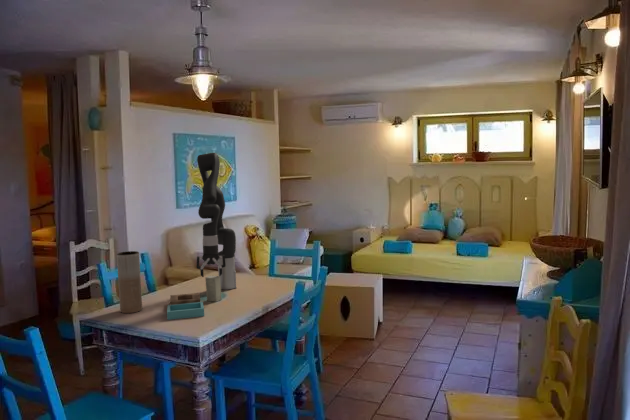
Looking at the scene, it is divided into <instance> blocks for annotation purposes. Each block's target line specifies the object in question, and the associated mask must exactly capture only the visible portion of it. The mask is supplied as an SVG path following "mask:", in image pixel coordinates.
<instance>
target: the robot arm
mask: <svg viewBox="0 0 630 420" xmlns="http://www.w3.org/2000/svg"><path fill="white" fill-rule="evenodd" d="M196 160H197V166H198V171H199V173H200V176H201V179H202V183H203V186H202V194H201V197H202V198H201V202H200V204H199V208H198V216H199V217H200V218H201V219H203V220H204V219H208V220H209V219H210V220H211V221H210V222H206V223H204V224H203V225H202V255H201V256H199V255H197V256H196V269H198V270H199V271H200V277H202V278H204V268H205V266H207V265H208V266H210V265H215V264H216V265H217V272H218V274H217V276H220V286H221V290H233V289H237V275H236V274H237V273H236V272H237V271H236V264H235V263H236V262H235V261H236V260H235V258H236V257H235V253H236V250H237V249H236V248H237V247H236V246H237V245H236V244H237V242H236V240H237V239H236V233H235V231H234V229H232V228H225V227H224V222H223V215H224V212H225V208H226V202H225V197H224V193H223V191H222V190H221V188H220V187H218V179H219V172H220V166H221V162H220V156H219V155H218V154H217V153H216V152H210V153H204V154H203V153H202V154H199V155H197V157H196ZM208 172H210V174H209V173H208ZM219 245H221V246H222V250H220V251H219ZM200 261H203V262H202V265H200Z"/></svg>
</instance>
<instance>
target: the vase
mask: <svg viewBox="0 0 630 420" xmlns="http://www.w3.org/2000/svg"><path fill="white" fill-rule="evenodd" d="M116 260H117V261H116V264H117V278H118V279H117V280H118V294H119V311H121V312H122V313H121V312H120V313H121V314H135V313H138V311H139V312H140V311H142V310H143V298H142V297H143V296H142V280H141V267H140V266H141V265H140V264H141V262H140V261H141V260H140V252H139V251H137V250H134V251H133V250H132V251H122V252H121V251H120V252H118V253H116Z"/></svg>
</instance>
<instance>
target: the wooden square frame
mask: <svg viewBox="0 0 630 420" xmlns="http://www.w3.org/2000/svg"><path fill="white" fill-rule="evenodd" d="M197 302H201V296H200V292H193V293H184V294H183V293H182V294H171V295H170V297H169V305H175V304H186V303H197Z"/></svg>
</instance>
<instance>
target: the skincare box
mask: <svg viewBox="0 0 630 420" xmlns="http://www.w3.org/2000/svg"><path fill="white" fill-rule="evenodd" d="M205 290H206V291H205V292H206V301H208V302H219V301H221V300H222V289H221V286H220V276H219V275H208V276H206V277H205Z"/></svg>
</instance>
